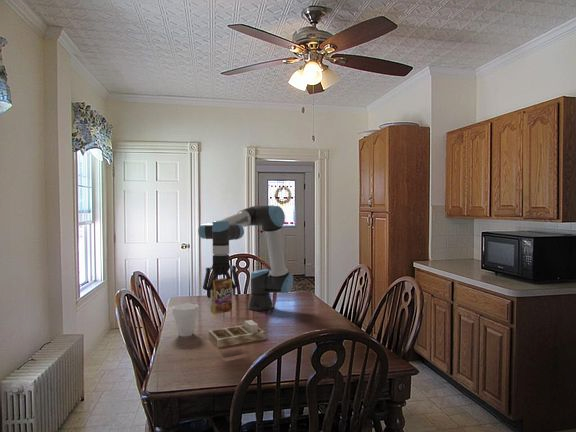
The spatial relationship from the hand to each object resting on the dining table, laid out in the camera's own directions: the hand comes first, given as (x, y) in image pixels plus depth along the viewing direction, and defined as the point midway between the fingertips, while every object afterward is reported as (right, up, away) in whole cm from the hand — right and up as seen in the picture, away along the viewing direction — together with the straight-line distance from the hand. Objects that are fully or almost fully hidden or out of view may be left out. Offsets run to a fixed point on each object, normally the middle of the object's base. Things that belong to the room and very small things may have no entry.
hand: (221, 303), depth 177 cm
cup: (-20, -18, +13) cm, 30 cm away
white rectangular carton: (+13, -17, +7) cm, 22 cm away
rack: (+7, -18, +4) cm, 19 cm away
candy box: (0, -4, 0) cm, 4 cm away
